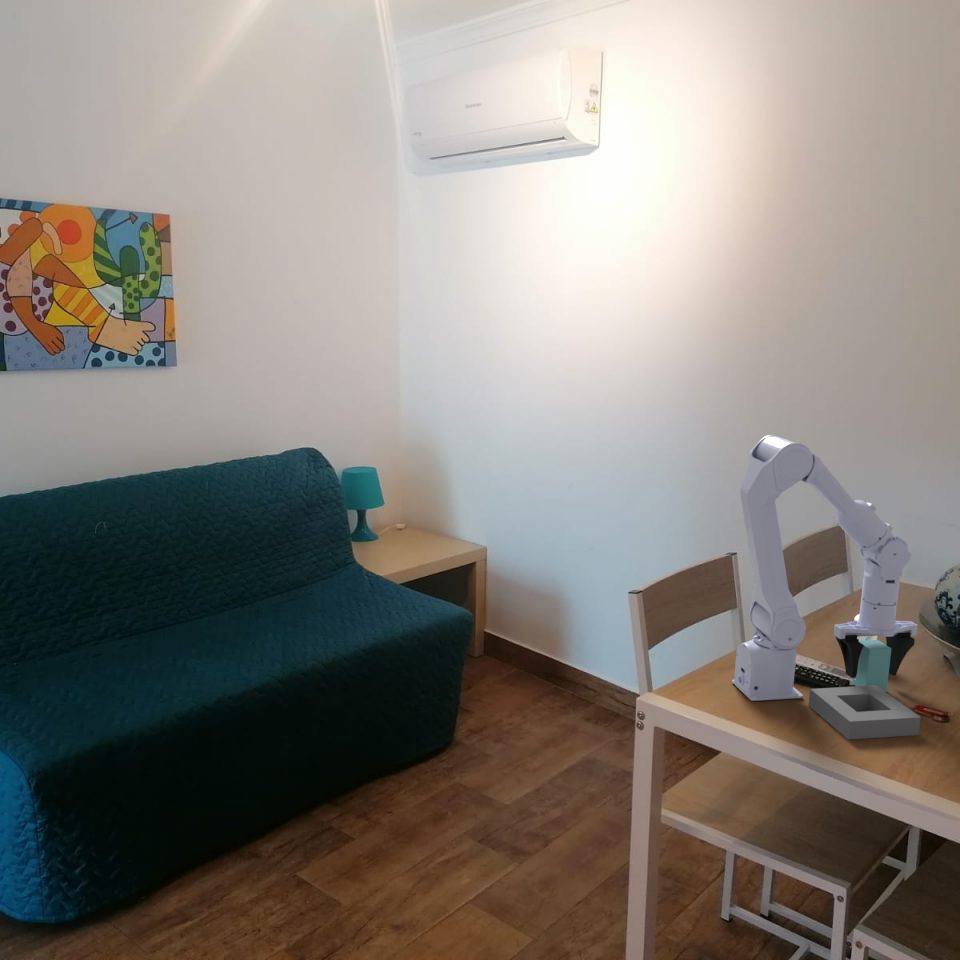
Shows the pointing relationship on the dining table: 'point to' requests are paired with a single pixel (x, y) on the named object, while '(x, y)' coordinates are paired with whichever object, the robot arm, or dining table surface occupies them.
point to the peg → (873, 664)
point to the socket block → (874, 722)
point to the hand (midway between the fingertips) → (870, 674)
